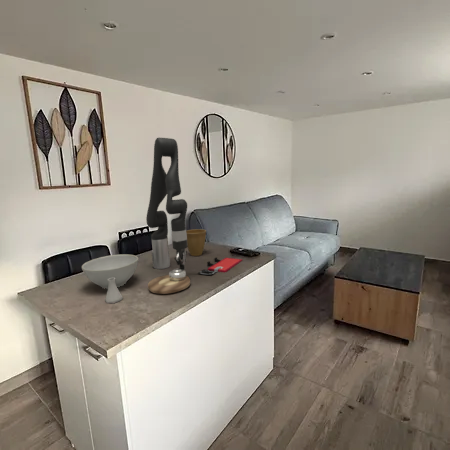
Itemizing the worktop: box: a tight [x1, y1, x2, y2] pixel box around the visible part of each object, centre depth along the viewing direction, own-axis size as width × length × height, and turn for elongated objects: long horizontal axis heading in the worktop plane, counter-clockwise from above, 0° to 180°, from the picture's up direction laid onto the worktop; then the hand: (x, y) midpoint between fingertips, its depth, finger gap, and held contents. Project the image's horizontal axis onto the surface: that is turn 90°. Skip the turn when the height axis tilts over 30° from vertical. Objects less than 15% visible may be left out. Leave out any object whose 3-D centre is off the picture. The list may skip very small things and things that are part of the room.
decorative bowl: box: [81, 253, 139, 290], centre depth 149 cm, size 27×27×12 cm
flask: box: [104, 278, 124, 304], centre depth 130 cm, size 7×7×10 cm
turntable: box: [147, 274, 191, 295], centre depth 142 cm, size 20×20×3 cm
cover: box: [168, 268, 187, 282], centre depth 145 cm, size 8×8×5 cm
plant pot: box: [186, 228, 207, 257], centre depth 194 cm, size 15×15×16 cm
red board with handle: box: [198, 257, 243, 276], centre depth 167 cm, size 30×3×15 cm
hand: (182, 271), depth 152 cm, fingers closed
